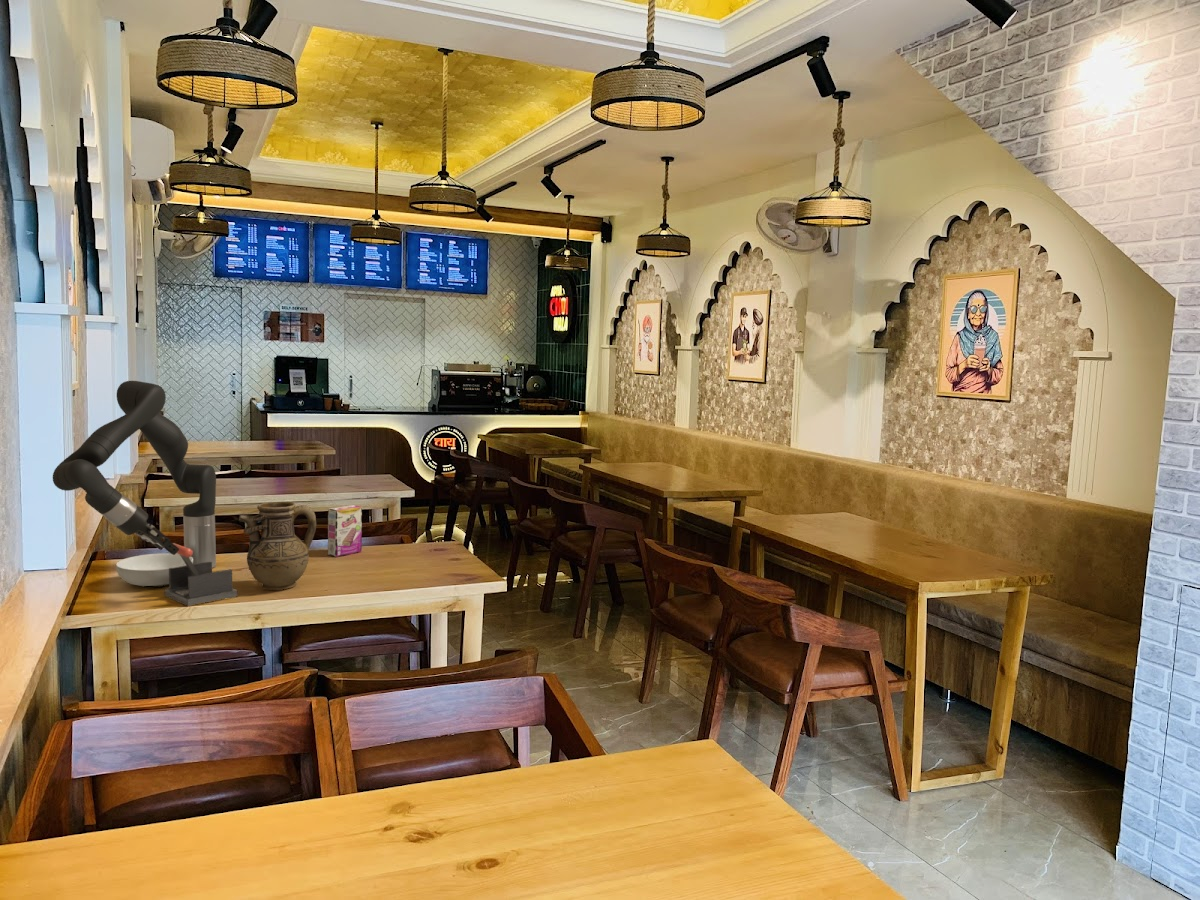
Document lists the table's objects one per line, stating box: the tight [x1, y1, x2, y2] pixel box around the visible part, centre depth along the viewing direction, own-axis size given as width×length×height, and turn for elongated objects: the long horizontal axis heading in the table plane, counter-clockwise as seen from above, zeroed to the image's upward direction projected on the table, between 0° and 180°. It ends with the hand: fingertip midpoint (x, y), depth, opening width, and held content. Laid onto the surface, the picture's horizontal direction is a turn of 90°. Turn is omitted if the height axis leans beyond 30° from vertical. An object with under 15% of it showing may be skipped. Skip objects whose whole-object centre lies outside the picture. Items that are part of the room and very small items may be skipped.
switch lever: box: [172, 542, 199, 576], centre depth 255 cm, size 2×10×13 cm, turn 48°
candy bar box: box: [327, 504, 363, 558], centre depth 313 cm, size 11×5×16 cm, turn 144°
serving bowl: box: [115, 552, 193, 587], centre depth 271 cm, size 21×21×7 cm
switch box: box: [164, 562, 238, 607], centre depth 257 cm, size 14×15×8 cm
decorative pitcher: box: [238, 501, 317, 591], centre depth 268 cm, size 22×18×25 cm
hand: (169, 549), depth 250 cm, fingers open, 8 cm apart
